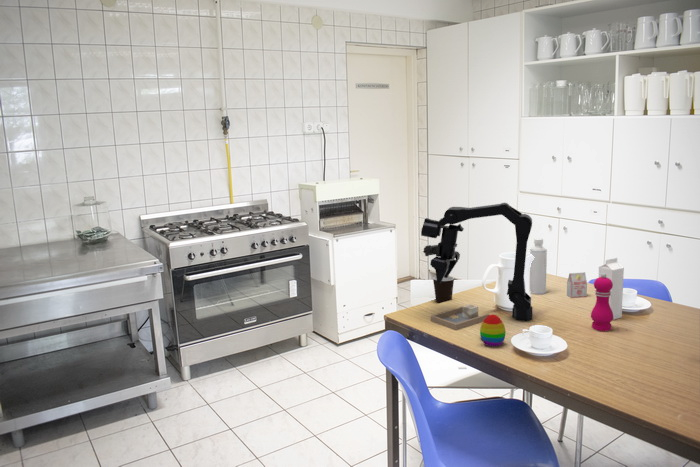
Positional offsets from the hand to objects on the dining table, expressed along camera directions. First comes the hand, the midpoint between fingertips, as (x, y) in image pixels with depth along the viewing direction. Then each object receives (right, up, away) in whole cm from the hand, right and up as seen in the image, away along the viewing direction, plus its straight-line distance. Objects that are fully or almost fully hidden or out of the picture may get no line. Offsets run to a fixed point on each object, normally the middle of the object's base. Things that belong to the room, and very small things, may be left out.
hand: (442, 280), depth 217 cm
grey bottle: (+46, -8, +29) cm, 55 cm away
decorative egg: (+13, -19, -26) cm, 34 cm away
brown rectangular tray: (+6, -16, -6) cm, 18 cm away
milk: (+61, -13, -5) cm, 63 cm away
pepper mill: (+53, -16, -16) cm, 58 cm away
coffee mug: (+5, -11, +23) cm, 26 cm away
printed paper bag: (+59, -9, +22) cm, 64 cm away
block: (+10, -13, -3) cm, 17 cm away
